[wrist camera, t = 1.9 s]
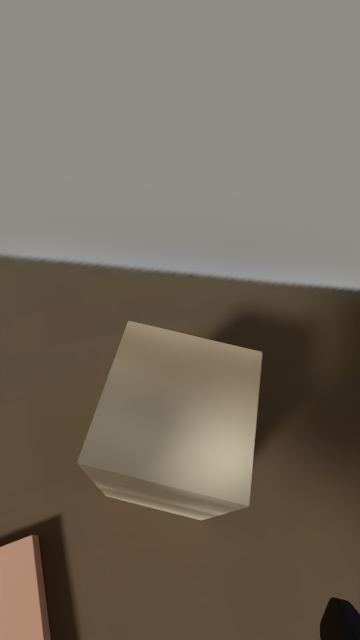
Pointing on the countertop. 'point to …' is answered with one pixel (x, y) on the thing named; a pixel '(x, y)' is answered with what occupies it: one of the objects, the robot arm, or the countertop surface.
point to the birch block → (176, 424)
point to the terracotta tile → (22, 592)
